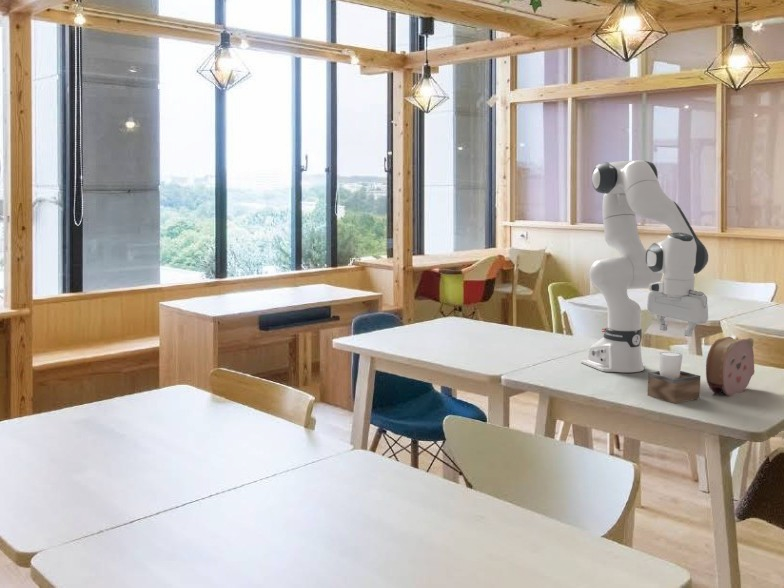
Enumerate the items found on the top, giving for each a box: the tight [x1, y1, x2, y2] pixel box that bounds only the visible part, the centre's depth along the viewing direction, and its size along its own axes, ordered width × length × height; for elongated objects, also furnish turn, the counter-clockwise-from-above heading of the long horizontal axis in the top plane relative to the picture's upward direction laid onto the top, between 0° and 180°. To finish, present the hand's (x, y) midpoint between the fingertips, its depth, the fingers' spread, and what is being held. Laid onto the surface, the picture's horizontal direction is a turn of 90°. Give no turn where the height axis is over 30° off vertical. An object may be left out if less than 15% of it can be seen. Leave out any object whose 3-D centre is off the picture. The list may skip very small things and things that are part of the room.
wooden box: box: [647, 370, 701, 404], centre depth 245 cm, size 11×11×7 cm
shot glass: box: [658, 351, 683, 379], centre depth 246 cm, size 7×7×7 cm
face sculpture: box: [705, 336, 755, 397], centre depth 251 cm, size 20×7×17 cm, turn 132°
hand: (675, 333), depth 243 cm, fingers open, 8 cm apart
